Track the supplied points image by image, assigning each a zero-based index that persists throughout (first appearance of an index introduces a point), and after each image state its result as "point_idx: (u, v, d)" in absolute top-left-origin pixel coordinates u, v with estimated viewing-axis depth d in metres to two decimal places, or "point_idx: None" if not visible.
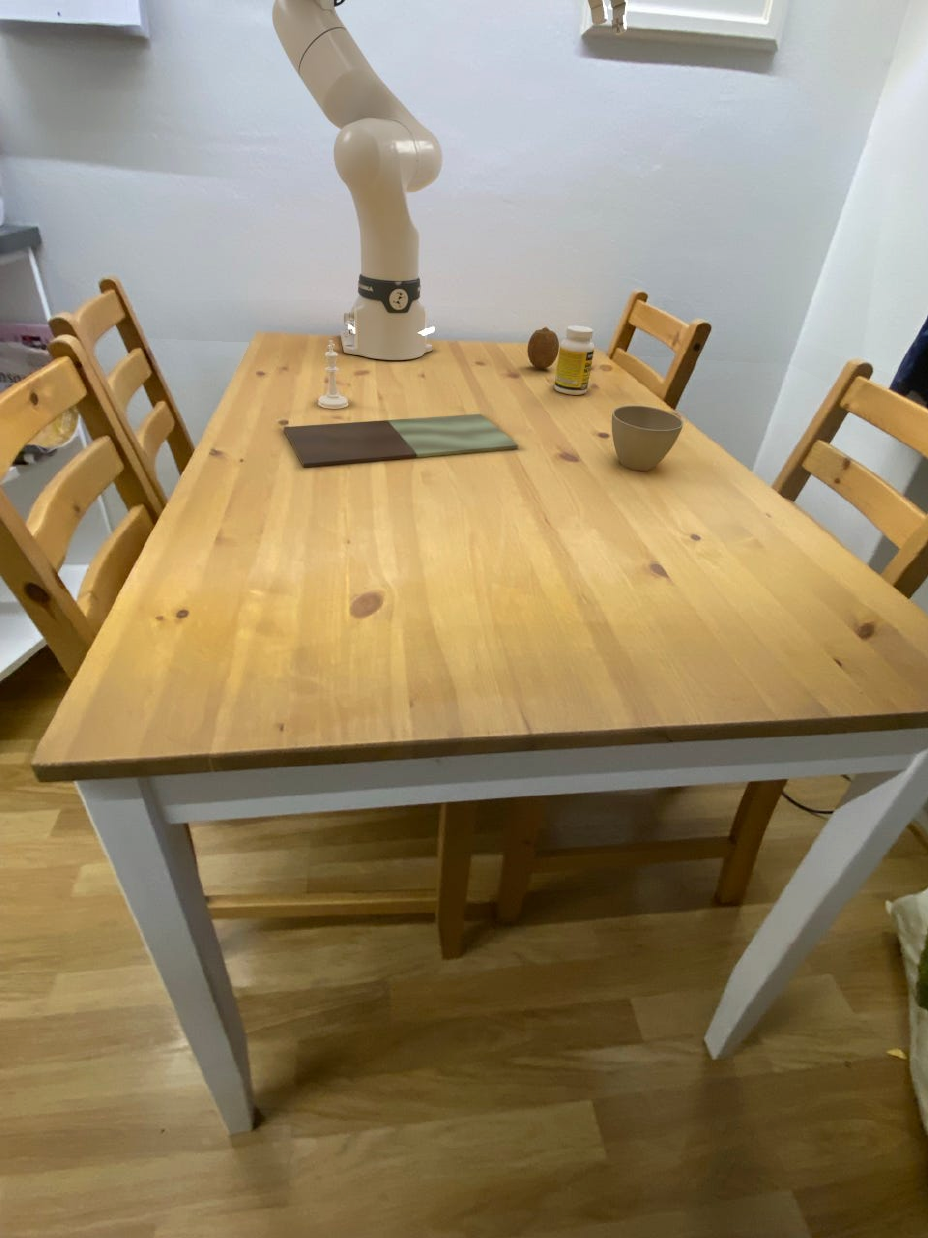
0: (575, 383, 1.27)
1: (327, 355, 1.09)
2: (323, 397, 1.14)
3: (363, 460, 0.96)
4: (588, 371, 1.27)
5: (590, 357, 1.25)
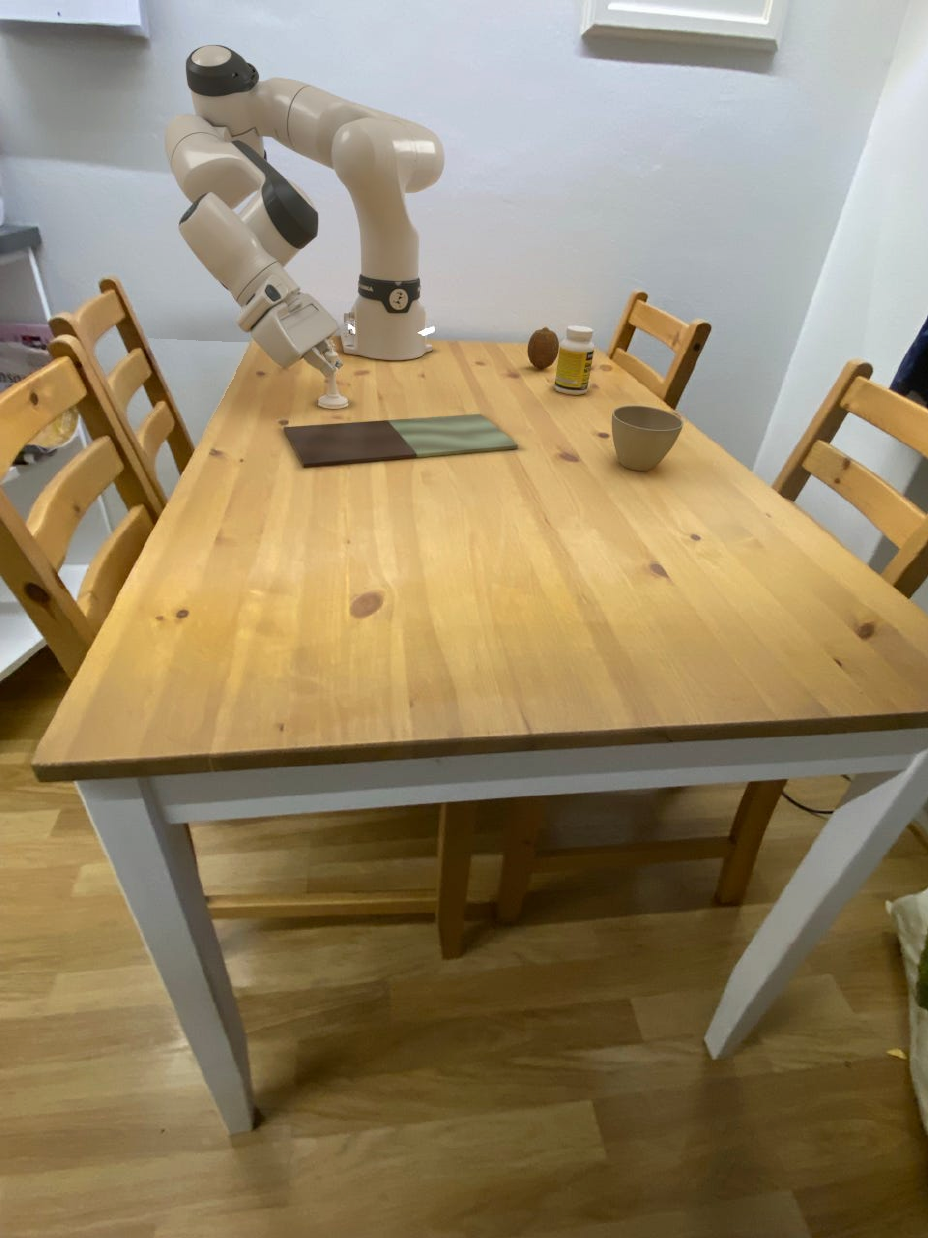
0: (575, 383, 1.27)
1: (327, 355, 1.09)
2: (323, 397, 1.14)
3: (363, 460, 0.96)
4: (588, 371, 1.27)
5: (590, 357, 1.25)
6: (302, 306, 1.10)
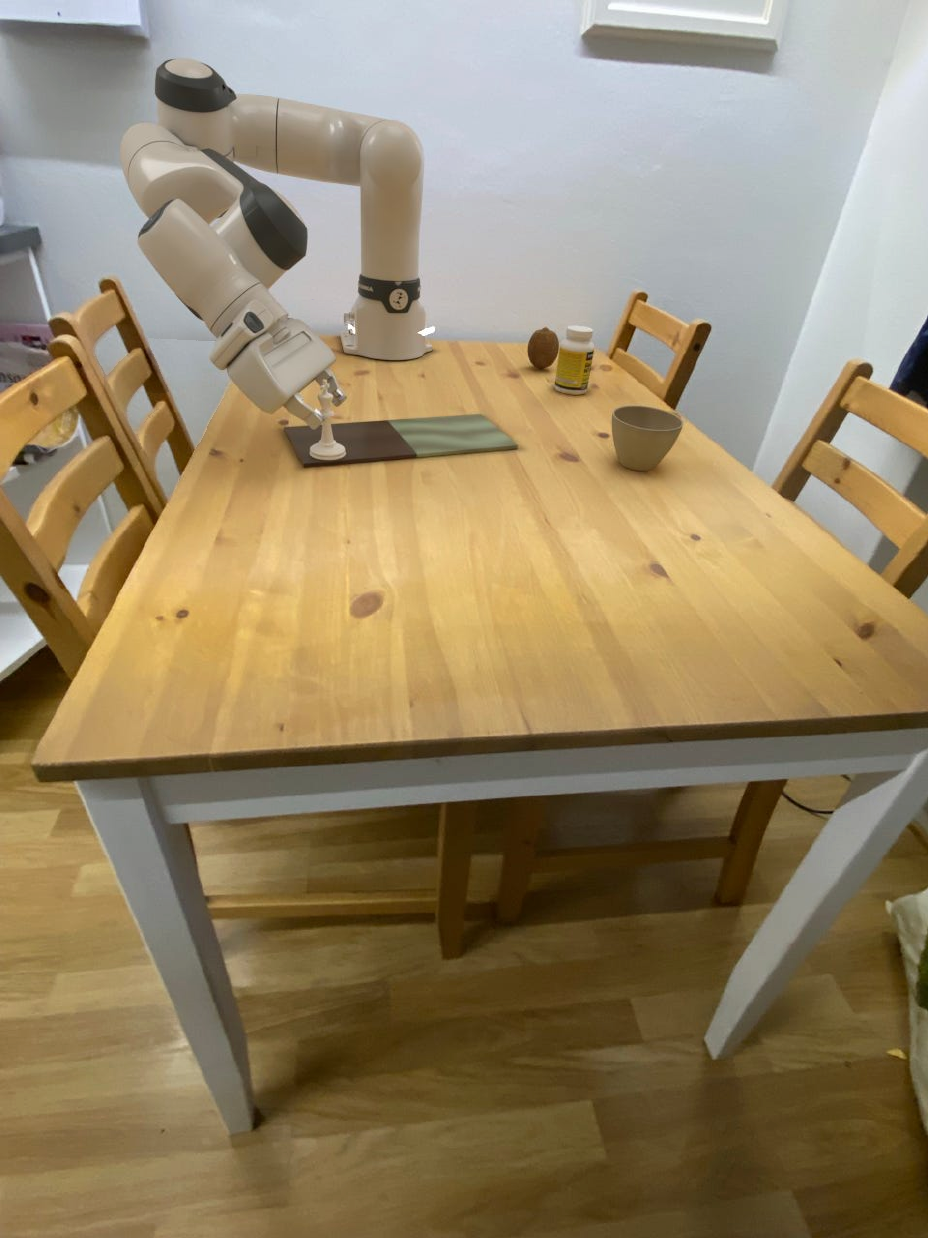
0: (575, 383, 1.27)
1: (320, 397, 0.91)
2: (316, 446, 0.95)
3: (363, 460, 0.96)
4: (588, 371, 1.27)
5: (590, 357, 1.25)
6: (291, 335, 0.91)
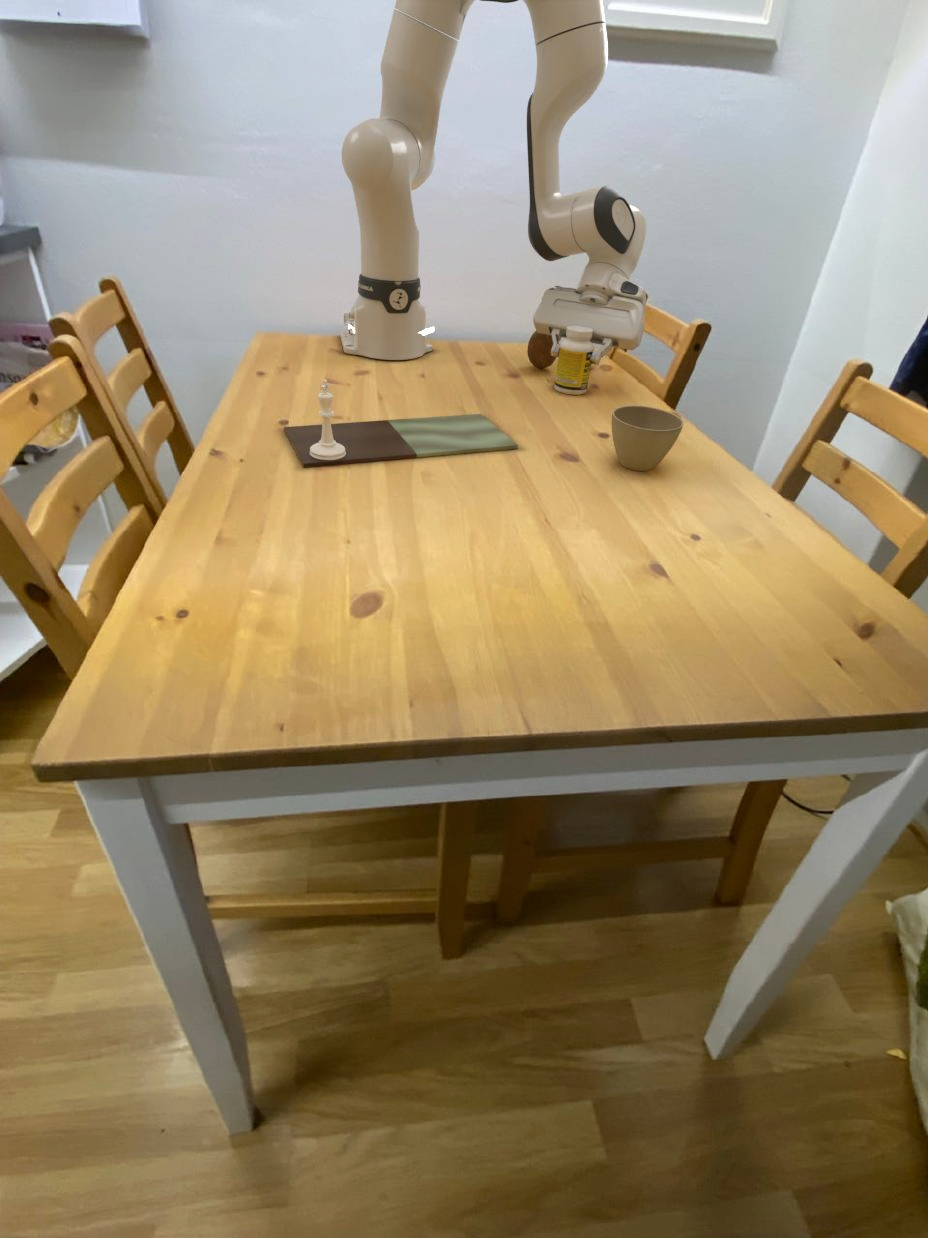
0: (575, 383, 1.27)
1: (320, 397, 0.91)
2: (316, 446, 0.95)
3: (363, 460, 0.96)
4: (588, 371, 1.27)
5: None
6: None
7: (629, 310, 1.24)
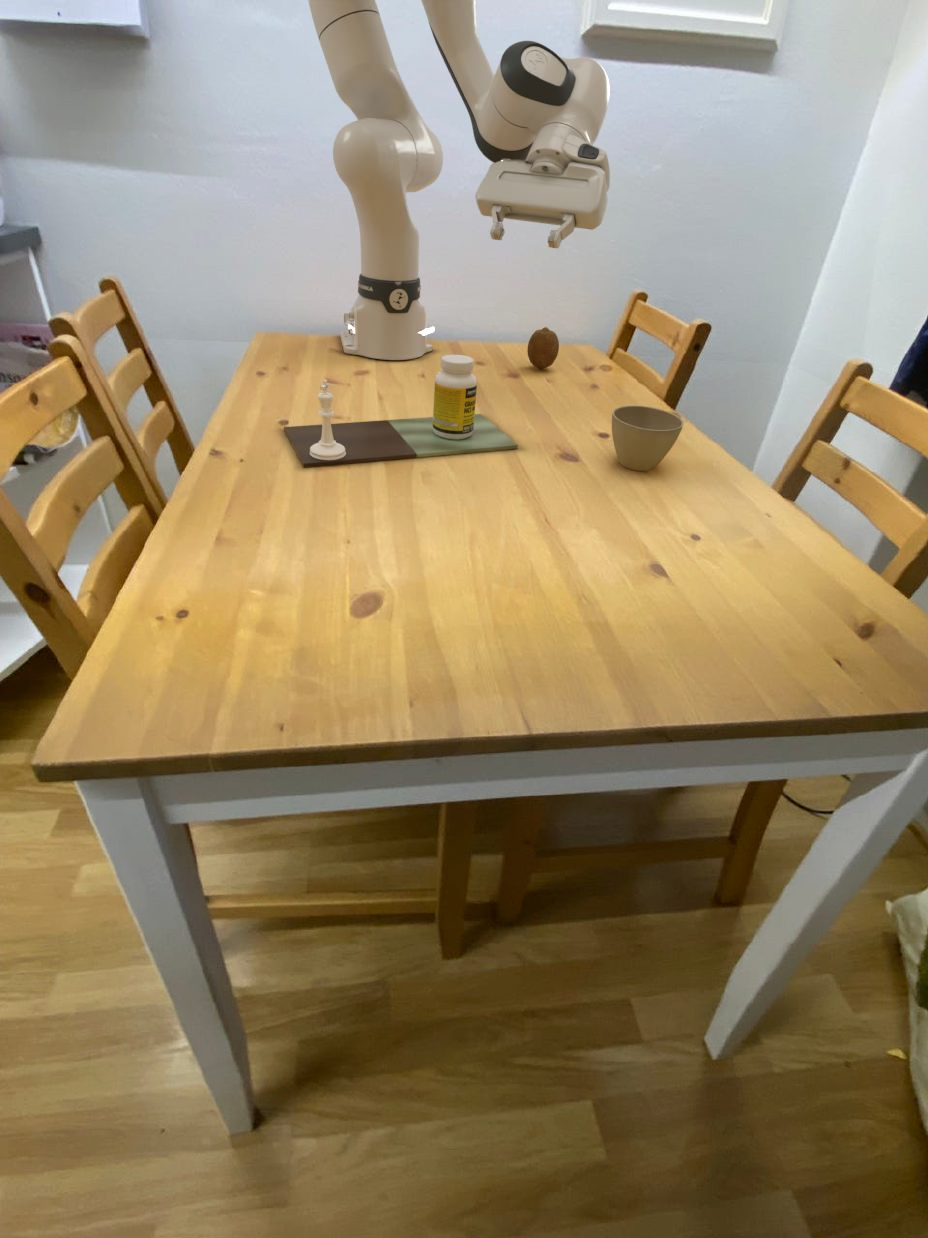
0: (454, 425, 1.02)
1: (320, 397, 0.91)
2: (316, 446, 0.95)
3: (363, 460, 0.96)
4: (471, 411, 1.02)
5: (471, 394, 1.01)
6: None
7: (588, 179, 1.03)
